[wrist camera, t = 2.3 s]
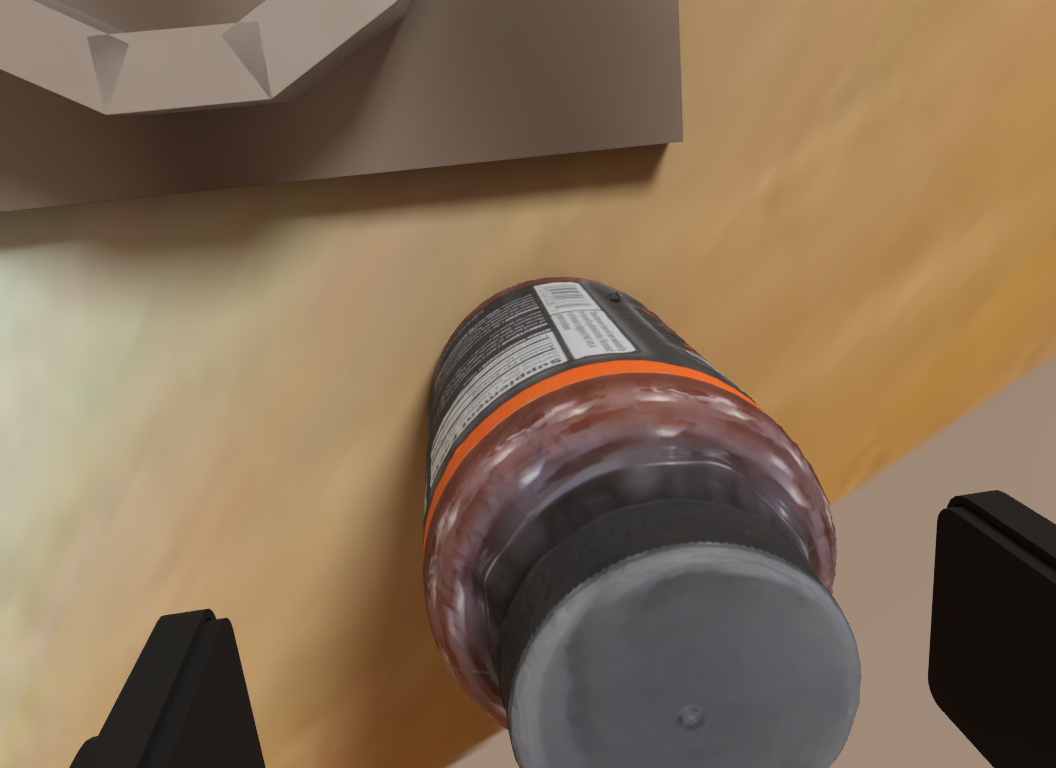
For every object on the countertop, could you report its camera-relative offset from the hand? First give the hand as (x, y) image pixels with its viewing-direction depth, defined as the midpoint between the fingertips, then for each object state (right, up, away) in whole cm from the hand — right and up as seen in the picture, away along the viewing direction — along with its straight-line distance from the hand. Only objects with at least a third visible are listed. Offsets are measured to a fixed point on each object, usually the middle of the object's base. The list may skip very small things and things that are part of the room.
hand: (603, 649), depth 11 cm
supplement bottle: (0, +3, +9) cm, 10 cm away
